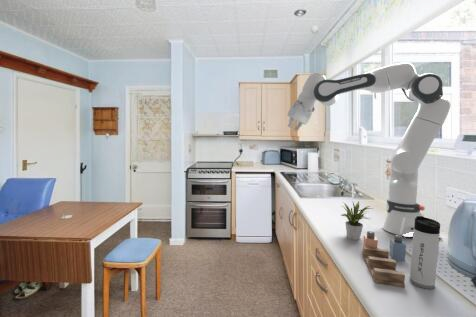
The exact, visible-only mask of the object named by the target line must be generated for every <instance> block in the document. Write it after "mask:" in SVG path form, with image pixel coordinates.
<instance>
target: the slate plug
mask: <svg viewBox="0 0 476 317" xmlns="http://www.w3.org/2000/svg"><path fill="white" fill-rule="evenodd" d="M403 238H404V237H402V236H400V235H397V234H394V237H393V238H390V239H389V240H390V241H389V250H388V251H389V257H390V258H391V259H393V260H397V261H404V262H405V261H406V251H407V244H406V242H405V241H404V239H403Z"/></svg>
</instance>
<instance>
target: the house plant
mask: <svg viewBox="0 0 476 317" xmlns="http://www.w3.org/2000/svg"><path fill="white" fill-rule="evenodd" d="M351 201H352V205H353V207H351V208H349V206H348V204H346V203H345V202H344V201H343V202H342V203H343V204H344V206H343V205H341V207H342V208H344V210H345V211H346V213H343V214H341V215H340V216H342V217H346V218H347V220H346V221H345V230H346V237H347V238H348V239H350V240H356V241H357V240H360V239H361V235H362V231H363V227H364V224H363V223H362V222H363V220H362V219H366V220H369V217H366V216H365V214H367V213H368V212H366V210H370V209H372V210H374V208H373V207H370V205H367V206H365V207H363V208H362V209H360V201H357V203H356V204H355V203H354V201H353V200H351ZM371 219H372V217H370V220H371ZM360 220H361V221H360ZM359 221H360V222H359Z"/></svg>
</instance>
